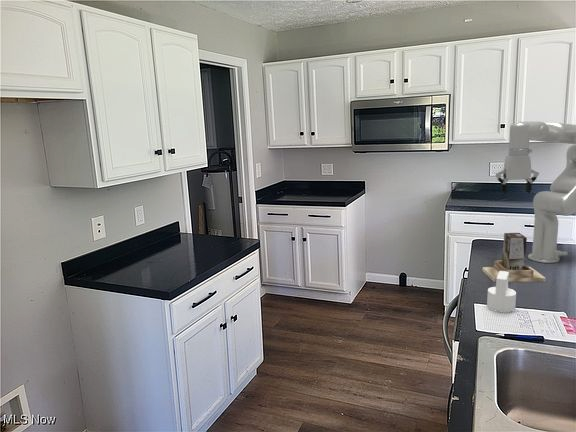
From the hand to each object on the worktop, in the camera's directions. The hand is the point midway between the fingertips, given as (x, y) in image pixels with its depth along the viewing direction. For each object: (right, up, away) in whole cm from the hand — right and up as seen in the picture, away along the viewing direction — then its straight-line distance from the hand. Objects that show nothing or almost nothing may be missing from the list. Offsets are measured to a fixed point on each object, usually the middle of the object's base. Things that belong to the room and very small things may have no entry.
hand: (515, 192), depth 189 cm
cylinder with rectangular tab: (-23, -43, -34) cm, 59 cm away
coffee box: (-4, -34, -4) cm, 34 cm away
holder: (-4, -35, -4) cm, 36 cm away
